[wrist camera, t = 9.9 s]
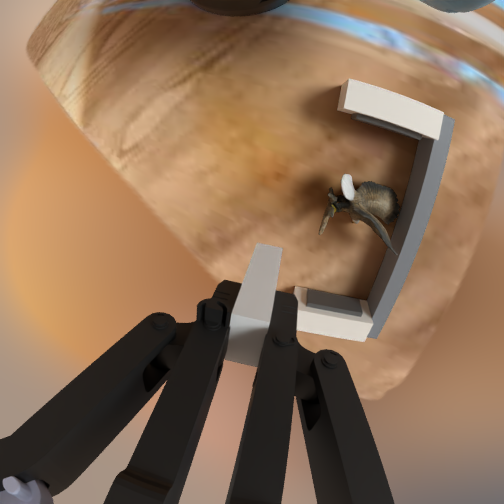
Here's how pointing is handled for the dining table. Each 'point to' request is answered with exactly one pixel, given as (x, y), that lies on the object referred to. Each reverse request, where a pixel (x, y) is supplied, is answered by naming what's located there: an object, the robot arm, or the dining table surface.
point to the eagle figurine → (364, 206)
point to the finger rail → (409, 220)
